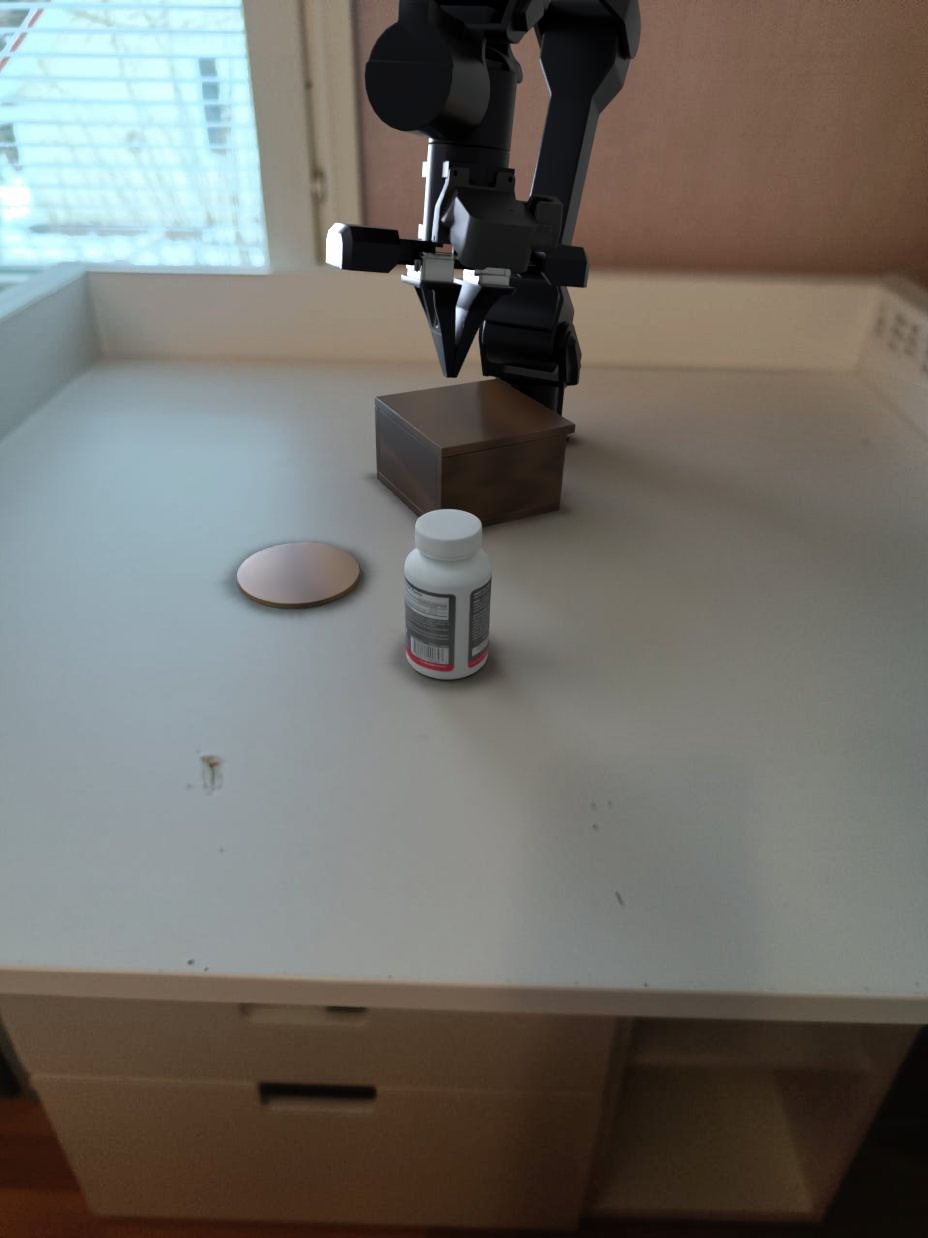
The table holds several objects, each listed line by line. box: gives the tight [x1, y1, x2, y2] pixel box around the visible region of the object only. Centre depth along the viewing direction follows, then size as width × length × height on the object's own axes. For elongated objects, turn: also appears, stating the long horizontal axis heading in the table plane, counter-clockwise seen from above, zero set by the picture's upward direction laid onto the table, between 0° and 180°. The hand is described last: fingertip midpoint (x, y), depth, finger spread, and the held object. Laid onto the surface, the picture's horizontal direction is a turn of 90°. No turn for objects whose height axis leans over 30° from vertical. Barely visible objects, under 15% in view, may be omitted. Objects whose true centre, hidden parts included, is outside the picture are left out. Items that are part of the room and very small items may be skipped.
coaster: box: [236, 541, 361, 609], centre depth 65 cm, size 9×9×1 cm
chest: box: [374, 405, 568, 528], centre depth 76 cm, size 12×13×7 cm
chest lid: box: [374, 378, 576, 458], centre depth 74 cm, size 12×13×1 cm
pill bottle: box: [403, 509, 493, 680], centre depth 54 cm, size 5×5×10 cm
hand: (449, 376), depth 68 cm, fingers closed
